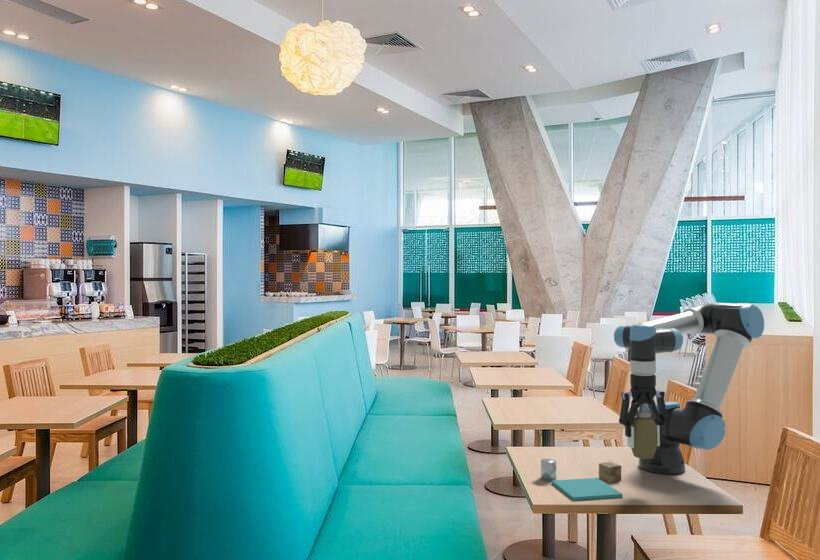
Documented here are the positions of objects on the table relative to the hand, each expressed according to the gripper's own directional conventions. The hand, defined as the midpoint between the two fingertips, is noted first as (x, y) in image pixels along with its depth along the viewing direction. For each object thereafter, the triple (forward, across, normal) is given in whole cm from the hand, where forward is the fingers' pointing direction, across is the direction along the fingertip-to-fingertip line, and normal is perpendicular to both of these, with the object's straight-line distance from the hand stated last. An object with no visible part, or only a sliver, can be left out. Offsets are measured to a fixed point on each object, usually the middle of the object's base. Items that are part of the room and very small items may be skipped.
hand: (643, 446), depth 201 cm
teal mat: (+14, +18, -4) cm, 23 cm away
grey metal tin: (+14, +25, -17) cm, 33 cm away
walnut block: (+14, +5, -13) cm, 20 cm away
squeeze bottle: (+4, 0, 0) cm, 4 cm away
